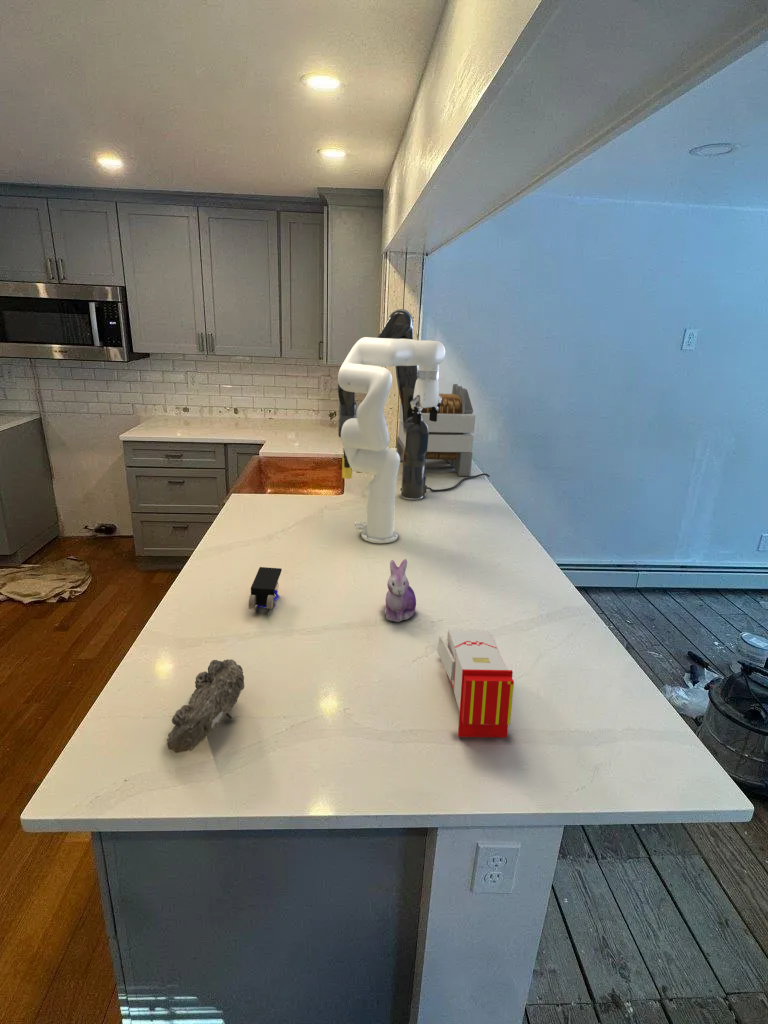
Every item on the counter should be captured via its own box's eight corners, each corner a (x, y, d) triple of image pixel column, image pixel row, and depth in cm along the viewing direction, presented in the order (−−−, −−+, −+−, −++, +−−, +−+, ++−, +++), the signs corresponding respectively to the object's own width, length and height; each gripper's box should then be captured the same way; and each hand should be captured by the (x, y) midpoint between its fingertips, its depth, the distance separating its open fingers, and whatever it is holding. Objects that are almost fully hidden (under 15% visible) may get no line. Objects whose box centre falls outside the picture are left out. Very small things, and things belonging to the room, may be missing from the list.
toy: (488, 613, 130) (523, 677, 101) (484, 667, 133) (517, 744, 104) (435, 612, 130) (455, 676, 101) (432, 666, 133) (451, 743, 103)
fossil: (192, 660, 117) (244, 628, 112) (224, 691, 120) (276, 661, 115) (142, 746, 98) (202, 712, 93) (182, 779, 101) (242, 748, 96)
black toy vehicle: (274, 622, 143) (283, 588, 157) (273, 597, 140) (282, 565, 153) (248, 621, 143) (258, 588, 157) (246, 596, 140) (257, 564, 153)
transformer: (395, 457, 301) (399, 379, 287) (455, 458, 305) (462, 381, 291) (404, 475, 269) (409, 388, 255) (471, 476, 273) (479, 391, 259)
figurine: (392, 627, 141) (395, 572, 136) (374, 608, 149) (376, 556, 144) (425, 619, 145) (429, 566, 140) (405, 601, 154) (408, 550, 149)
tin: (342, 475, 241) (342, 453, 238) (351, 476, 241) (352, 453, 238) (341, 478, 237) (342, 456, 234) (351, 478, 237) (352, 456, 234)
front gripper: (434, 373, 214) (431, 418, 220) (404, 376, 202) (402, 423, 208) (450, 375, 210) (446, 421, 216) (421, 378, 198) (418, 427, 203)
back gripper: (356, 429, 225) (355, 470, 231) (357, 422, 238) (356, 461, 244) (337, 428, 225) (337, 470, 231) (339, 421, 238) (339, 461, 244)
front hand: (424, 422), depth 212 cm, fingers open, 9 cm apart
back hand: (347, 465), depth 237 cm, fingers closed on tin, 4 cm apart
